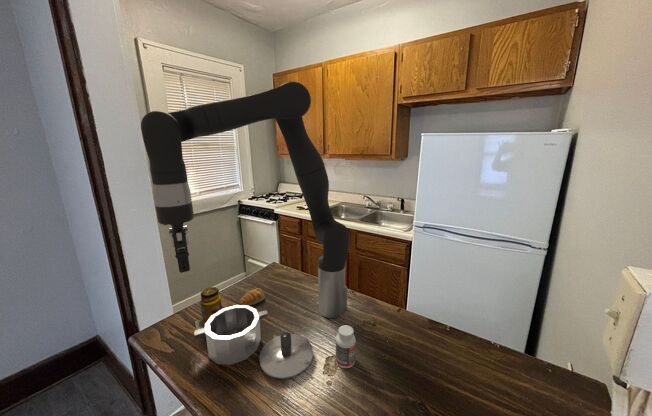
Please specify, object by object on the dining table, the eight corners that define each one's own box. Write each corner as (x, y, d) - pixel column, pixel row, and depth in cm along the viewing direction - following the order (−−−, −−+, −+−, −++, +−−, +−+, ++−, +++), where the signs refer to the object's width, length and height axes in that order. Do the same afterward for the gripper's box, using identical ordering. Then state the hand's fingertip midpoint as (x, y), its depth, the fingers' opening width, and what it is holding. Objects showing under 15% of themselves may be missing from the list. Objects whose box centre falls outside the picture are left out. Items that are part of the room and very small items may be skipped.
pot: (262, 319, 85) (261, 298, 83) (274, 349, 72) (273, 325, 70) (197, 339, 76) (194, 316, 74) (198, 376, 64) (194, 350, 62)
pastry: (245, 311, 89) (244, 301, 89) (234, 304, 94) (234, 294, 93) (266, 299, 96) (265, 290, 96) (256, 293, 101) (255, 284, 100)
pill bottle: (352, 371, 65) (353, 339, 63) (333, 366, 67) (333, 334, 64) (356, 355, 70) (357, 325, 68) (338, 351, 72) (338, 321, 69)
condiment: (226, 325, 82) (222, 292, 79) (197, 335, 78) (193, 301, 75) (221, 313, 88) (218, 282, 85) (194, 322, 84) (190, 290, 81)
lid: (301, 333, 79) (300, 312, 77) (321, 368, 66) (321, 344, 64) (254, 350, 72) (253, 327, 70) (267, 392, 60) (265, 366, 58)
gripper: (194, 205, 55) (203, 272, 59) (189, 195, 67) (197, 251, 71) (153, 210, 51) (166, 281, 55) (155, 198, 63) (166, 257, 67)
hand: (183, 264), depth 63 cm, fingers open, 8 cm apart
